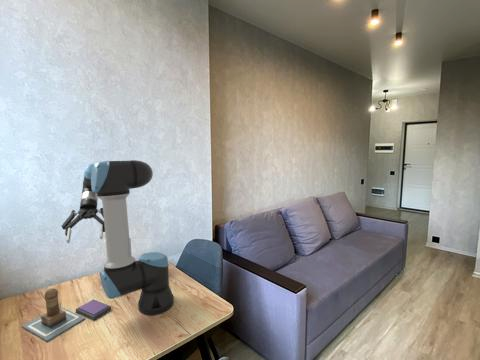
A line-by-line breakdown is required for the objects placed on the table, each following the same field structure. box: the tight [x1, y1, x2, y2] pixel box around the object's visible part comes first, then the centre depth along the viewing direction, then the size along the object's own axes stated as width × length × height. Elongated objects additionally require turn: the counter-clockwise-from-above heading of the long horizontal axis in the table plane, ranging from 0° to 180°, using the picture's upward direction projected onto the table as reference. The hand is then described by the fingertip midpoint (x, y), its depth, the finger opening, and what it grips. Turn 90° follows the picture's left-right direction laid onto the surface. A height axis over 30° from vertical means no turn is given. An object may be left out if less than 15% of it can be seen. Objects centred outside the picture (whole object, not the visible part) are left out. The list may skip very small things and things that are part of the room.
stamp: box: [40, 288, 66, 328], centre depth 103 cm, size 6×6×14 cm
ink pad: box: [75, 299, 112, 322], centre depth 111 cm, size 12×8×2 cm, turn 63°
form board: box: [21, 306, 86, 343], centre depth 104 cm, size 18×14×1 cm
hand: (84, 239), depth 121 cm, fingers open, 13 cm apart
